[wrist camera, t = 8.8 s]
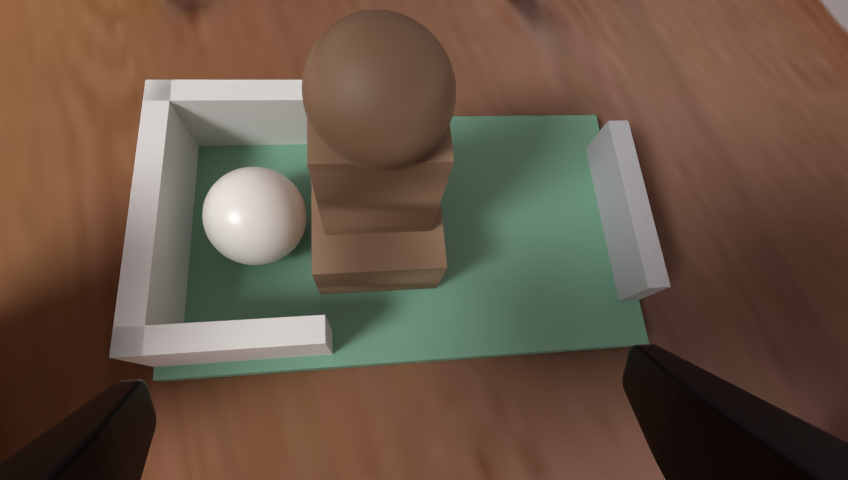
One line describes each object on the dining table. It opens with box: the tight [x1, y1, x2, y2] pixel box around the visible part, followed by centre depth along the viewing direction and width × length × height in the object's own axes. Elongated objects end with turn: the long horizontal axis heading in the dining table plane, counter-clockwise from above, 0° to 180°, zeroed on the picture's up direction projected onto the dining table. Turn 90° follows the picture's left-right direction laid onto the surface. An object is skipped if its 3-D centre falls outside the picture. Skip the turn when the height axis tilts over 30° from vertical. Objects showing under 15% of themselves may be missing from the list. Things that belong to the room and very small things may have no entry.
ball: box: [202, 167, 307, 265], centre depth 19 cm, size 4×4×4 cm
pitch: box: [109, 80, 671, 381], centre depth 21 cm, size 21×12×4 cm, turn 94°
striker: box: [302, 10, 456, 295], centre depth 16 cm, size 5×6×12 cm
